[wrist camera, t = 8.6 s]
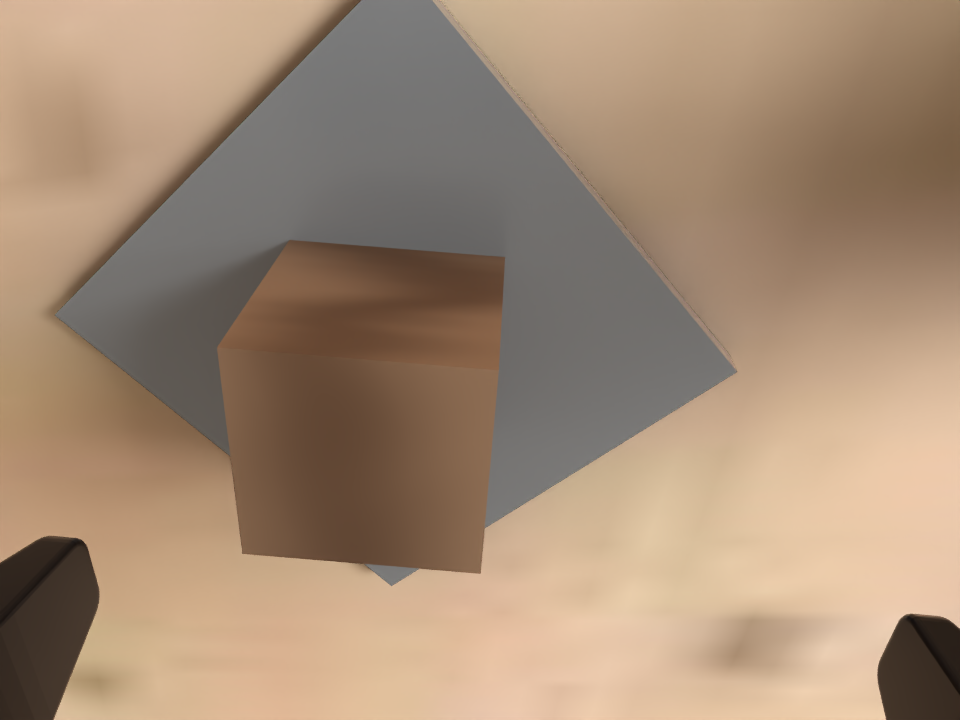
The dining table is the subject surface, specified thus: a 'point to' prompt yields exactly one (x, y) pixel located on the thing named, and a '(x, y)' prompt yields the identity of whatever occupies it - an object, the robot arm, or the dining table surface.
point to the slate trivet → (412, 246)
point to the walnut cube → (365, 405)
